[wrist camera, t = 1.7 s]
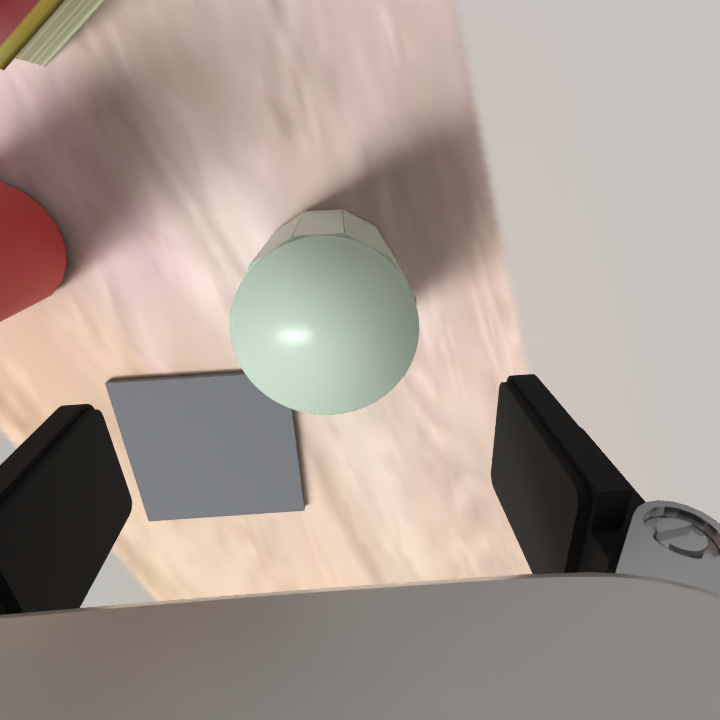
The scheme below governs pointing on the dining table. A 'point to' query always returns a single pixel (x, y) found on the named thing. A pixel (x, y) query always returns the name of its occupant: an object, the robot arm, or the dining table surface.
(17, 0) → the hardcover book
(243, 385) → the slate mat
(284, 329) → the mint green domed cylinder
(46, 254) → the beer can
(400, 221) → the dining table surface
